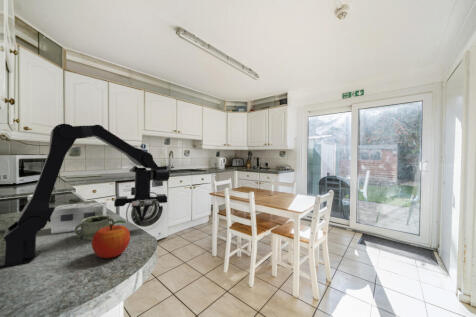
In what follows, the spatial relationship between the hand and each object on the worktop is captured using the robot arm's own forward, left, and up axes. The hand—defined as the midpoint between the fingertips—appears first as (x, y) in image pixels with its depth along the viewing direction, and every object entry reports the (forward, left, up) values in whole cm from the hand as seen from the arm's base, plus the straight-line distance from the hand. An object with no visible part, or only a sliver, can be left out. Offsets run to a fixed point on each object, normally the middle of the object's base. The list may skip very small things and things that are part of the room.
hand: (141, 221), depth 76 cm
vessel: (+1, +15, -4) cm, 16 cm away
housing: (+13, +22, -4) cm, 26 cm away
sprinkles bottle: (+20, +39, -4) cm, 44 cm away
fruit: (-19, +8, -4) cm, 21 cm away
